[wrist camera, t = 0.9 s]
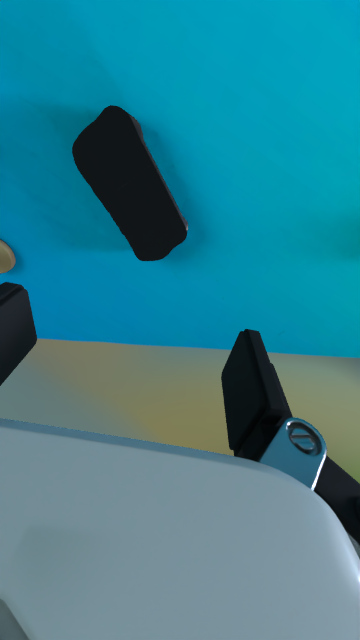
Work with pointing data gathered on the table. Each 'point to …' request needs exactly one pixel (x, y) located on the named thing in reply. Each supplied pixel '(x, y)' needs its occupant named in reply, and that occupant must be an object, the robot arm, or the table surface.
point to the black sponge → (129, 184)
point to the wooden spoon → (6, 257)
